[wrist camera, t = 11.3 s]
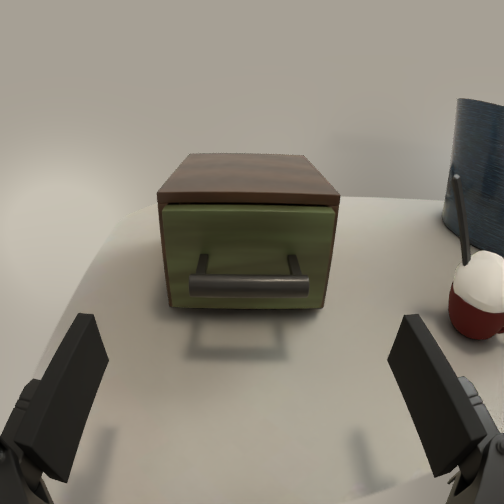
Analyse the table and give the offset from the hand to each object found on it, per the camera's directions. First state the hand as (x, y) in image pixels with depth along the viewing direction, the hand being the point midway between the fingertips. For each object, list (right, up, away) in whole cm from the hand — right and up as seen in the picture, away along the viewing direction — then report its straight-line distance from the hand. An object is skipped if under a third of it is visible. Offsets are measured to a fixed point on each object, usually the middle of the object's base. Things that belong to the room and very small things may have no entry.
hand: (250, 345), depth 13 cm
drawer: (0, +2, +16) cm, 16 cm away
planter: (+40, +6, +29) cm, 50 cm away
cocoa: (+19, -3, +11) cm, 22 cm away
